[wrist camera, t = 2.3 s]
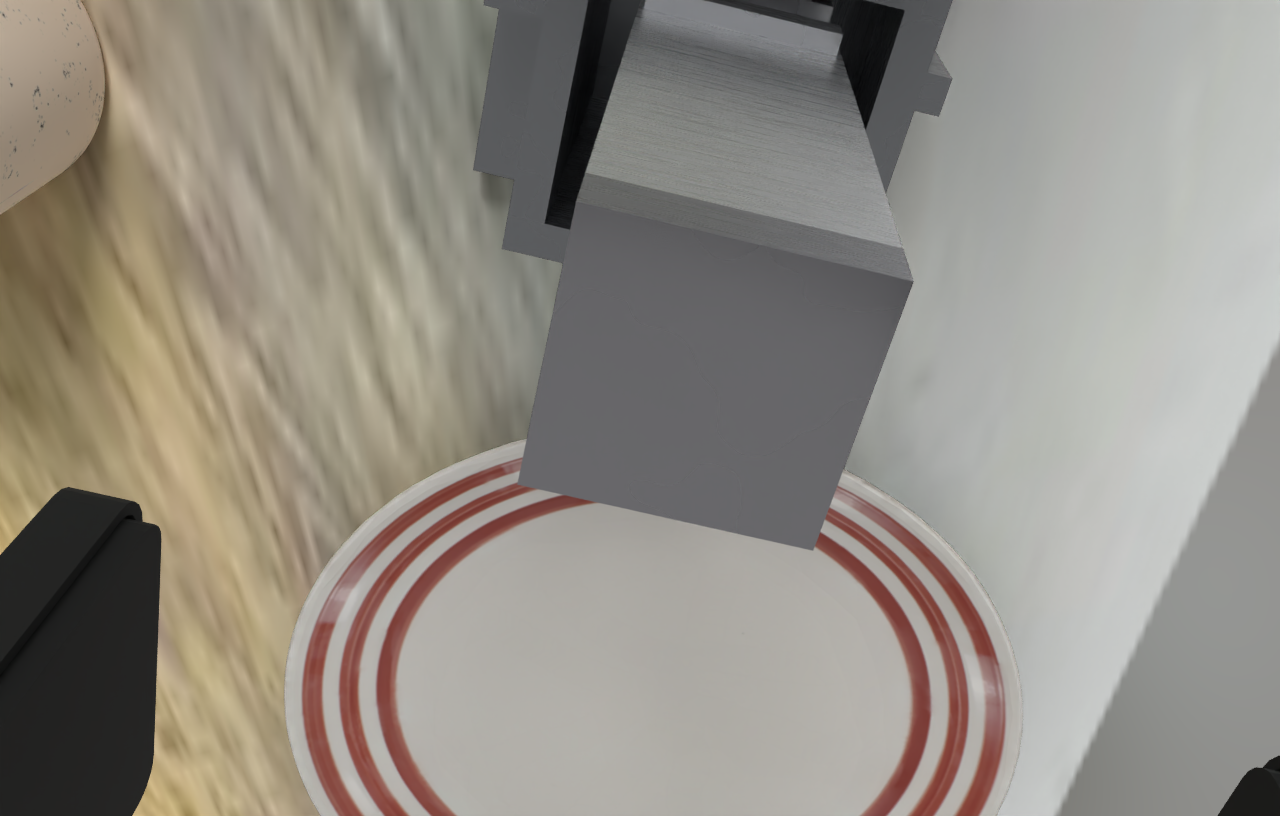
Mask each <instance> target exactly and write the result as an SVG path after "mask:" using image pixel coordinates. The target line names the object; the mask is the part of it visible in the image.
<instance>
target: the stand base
mask: <svg viewBox="0 0 1280 816" xmlns="http://www.w3.org/2000/svg"><path fill="white" fill-rule="evenodd" d="M640 1H641V0H484V5H485V6H489V7H493V8H498V9H499V12H498V18H497V25H496V31H495V37H494V43H493V50H492V56H491V62H490V68H489V75H488V81H487V87H486V93H485V100H484V106H483V112H482V118H481V125H480V131H479V137H478V143H477V150H476V156H475V162H474V169H473V170H476V171H480V172H484V173H488V174H492V175H497V176H501V177H505V178H509V179H514V184H513V190H512V195H511V201H510V207H509V212H508V218H507V223H506V229H505V235H504V240H503V246H502V249H505V250H509V251H513V252H518V253H522V254H526V255H530V256H535V257H539V258H543V259H548V260H552V261H556V262H560V263H563V262H564V257H565V252H566V248H567V243H568V238H569V233H570V228H571V224H572V219H573V214H574V209H575V204H576V200H577V197H578V194H579V191H580V188H581V185H582V182H583V178H584V175H585V172H586V169H587V166H588V163H589V160H590V157H591V154H592V151H593V147H594V144H595V141H596V138H597V135H598V132H599V129H600V126H601V123H602V119H603V116H604V113H605V110H606V107H607V104H608V101H609V98H610V95H611V92H612V88H613V85H614V82H615V79H616V76H617V73H618V70H619V67H620V64H621V60H622V57H623V54H624V51H625V48H626V45H627V42H628V39H629V36H630V33H631V29H632V26H633V23H634V20H635V17H636V14H637V11H638V8H639V5H640ZM831 1H832V4H833V7H834V8H833V11H832V14H831V18H830V21H831V23H832V24H836V25H840V27H841V30H842V33H843V37H842V40H841V43H840V47H839V49H840V53H841V56H842V59H843V62H844V65H845V68H846V71H847V74H848V78H849V81H850V84H851V87H852V90H853V93H854V96H855V100H856V103H857V106H858V109H859V112H860V115H861V118H862V121H863V125H864V128H865V131H866V134H867V137H868V140H869V143H870V146H871V150H872V153H873V156H874V159H875V162H876V165H877V168H878V171H879V175H880V178H881V181H882V184H883V187H884V190H885V193H886V191H887V188H888V185H889V182H890V180H891V177H892V174H893V171H894V168H895V165H896V162H897V159H898V156H899V154H900V151H901V148H902V145H903V142H904V139H905V136H906V133H907V130H908V127H909V125H910V122H911V119H912V116H913V113H914V111H918V112H922V113H926V114H930V115H934V116H938V117H939V115H940V112H941V109H942V106H943V103H944V101H945V98H946V95H947V92H948V89H949V87H950V84H951V81H952V78H951V76H950V74H949V73H948V71H947V69H946V68H945V66H944V64H943V63H942V61H941V59H940V58H939V56H938V54H937V53H936V51H935V49H936V46H937V44H938V41H939V38H940V35H941V32H942V29H943V26H944V23H945V20H946V18H947V15H948V12H949V9H950V6H951V3H952V0H831Z"/></svg>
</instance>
